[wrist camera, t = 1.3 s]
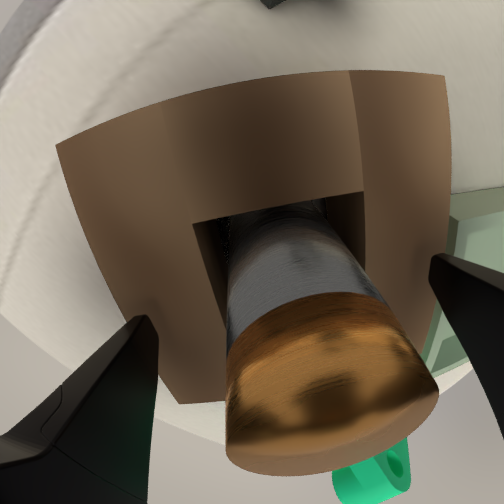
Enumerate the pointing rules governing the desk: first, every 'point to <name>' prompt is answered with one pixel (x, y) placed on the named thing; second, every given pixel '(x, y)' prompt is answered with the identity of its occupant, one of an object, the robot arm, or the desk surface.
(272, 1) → the watch
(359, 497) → the camera mount
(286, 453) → the steel pin
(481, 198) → the tray
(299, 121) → the hole block
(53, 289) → the desk surface
